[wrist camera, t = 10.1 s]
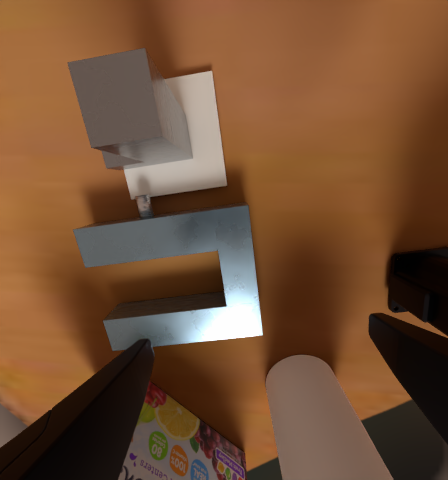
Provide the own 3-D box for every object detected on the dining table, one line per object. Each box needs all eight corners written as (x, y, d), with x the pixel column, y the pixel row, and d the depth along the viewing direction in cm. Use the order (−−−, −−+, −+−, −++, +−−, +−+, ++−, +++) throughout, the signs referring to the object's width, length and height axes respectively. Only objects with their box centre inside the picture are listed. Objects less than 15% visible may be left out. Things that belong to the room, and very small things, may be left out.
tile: (212, 74, 18) (211, 70, 17) (227, 185, 20) (227, 185, 19) (108, 92, 18) (104, 89, 17) (134, 199, 20) (131, 199, 20)
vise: (242, 180, 20) (245, 179, 17) (258, 316, 23) (262, 335, 20) (88, 203, 20) (65, 206, 18) (126, 330, 24) (112, 351, 21)
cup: (258, 403, 26) (302, 713, 11) (274, 349, 24) (355, 637, 9) (322, 413, 27) (453, 731, 11) (343, 360, 25) (540, 661, 9)
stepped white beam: (185, 114, 18) (144, 47, 9) (193, 158, 19) (162, 136, 10) (109, 127, 18) (-1, 75, 9) (120, 170, 19) (28, 158, 10)
